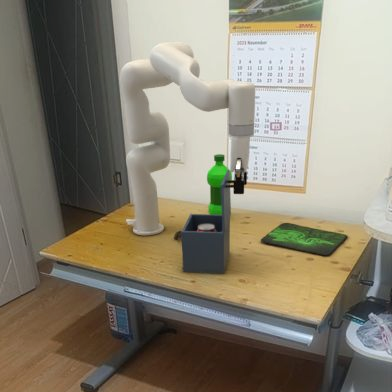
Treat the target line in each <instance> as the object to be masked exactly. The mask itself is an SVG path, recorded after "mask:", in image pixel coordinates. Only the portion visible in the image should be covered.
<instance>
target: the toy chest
mask: <svg viewBox="0 0 392 392" xmlns="http://www.w3.org/2000/svg"><path fill="white" fill-rule="evenodd" d="M230 221H231V218H229V221H228V224H227V227H226V230H225V232H223V229H222V215H210V214H209V213H207V214H206V213H205V214H204V213H202V214H201V213H190V214H189V216H188V218H187V219H186V222H185V224H184V225H183V228H182V229H181V230H180V231H181V239H182V241H181V255H182V257H181V258H182V272H183V273H200V274H201V273H202V274H221V275H222V274H225V272H226V267H227V264H228V260H229V256H230V251H231V249H230V248H231V247H230V245H231V244H230V243H231V242H230V241H231V240H230V239H231V238H230V237H231V236H230V235H231V230H230V229H231V222H230ZM206 223H208V224H213V225H214V226H215V229H216V231H217V232H200V231H197V229H198V226H199V225H201V224H206Z"/></svg>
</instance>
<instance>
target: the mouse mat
mask: <svg viewBox="0 0 392 392" xmlns="http://www.w3.org/2000/svg"><path fill="white" fill-rule="evenodd" d="M347 238H348V235H347V234H345V233H340V232H336V231H335V232H334V231H328V230H325V229H318V228H313V227H310V226H304V225H299V224H295V223H291V222H282V223H281V224H279V225H278V226H277V227H275V228H273V229H272V230H271V231H270V232H268V233H267V234H266V235H265V236H263V237H262V238H261V239H260V241H261V242H262V243H265V244H270V245H274V246H278V247H283V248H287V249H291V250H297V251H301V252H305V253H312V254H317V255H321V256H326V257H328V256H331V255H332V254H333V253H334V252H335V251H336V250H337V249H338V248H339V247H341V245H342V244H343V243H344V242H345V241H346V240H347Z"/></svg>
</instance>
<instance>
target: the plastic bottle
mask: <svg viewBox="0 0 392 392" xmlns="http://www.w3.org/2000/svg"><path fill="white" fill-rule="evenodd" d="M225 156H226V155H225V154H221V153H219V154H214V155H213V161H214V162H215V164H214V165H213V166H211V168H210V169H209V170H208V171H207V174H206V181H207V184H208V185H209V193H210V195H209V196H210V202H209V203H208V207H207V208H208V210H207V211H208V214H209V215H222V204H221V183H222V181H223V179H224V176H225V174H226V172H227V170H230V168H229V167H228V166H227V165H225V164H224V162H225V161H226V160H225V158H226V157H225ZM230 180H233V172H232V173H231V172H230ZM230 185H232V183H230Z"/></svg>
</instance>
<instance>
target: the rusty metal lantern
mask: <svg viewBox="0 0 392 392" xmlns="http://www.w3.org/2000/svg"><path fill="white" fill-rule="evenodd" d="M181 231H182V230H178V231H176V232H175V233H174V236H173V239H174V240H178V241H179V242H182V239H181Z"/></svg>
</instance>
